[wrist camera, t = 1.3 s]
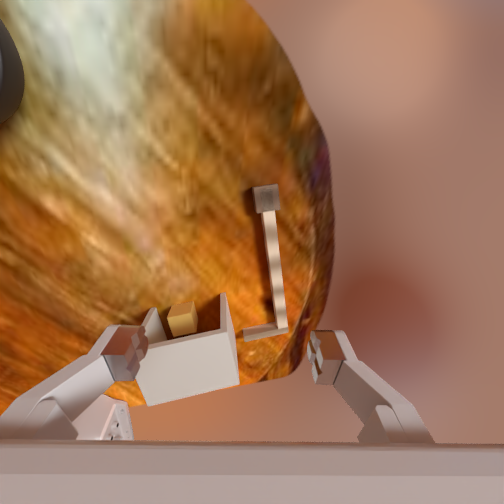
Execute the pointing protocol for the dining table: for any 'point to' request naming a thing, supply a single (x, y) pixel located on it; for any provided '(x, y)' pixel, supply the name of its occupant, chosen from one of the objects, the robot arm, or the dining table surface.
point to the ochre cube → (183, 319)
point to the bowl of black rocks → (9, 75)
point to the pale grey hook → (270, 262)
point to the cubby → (187, 360)
